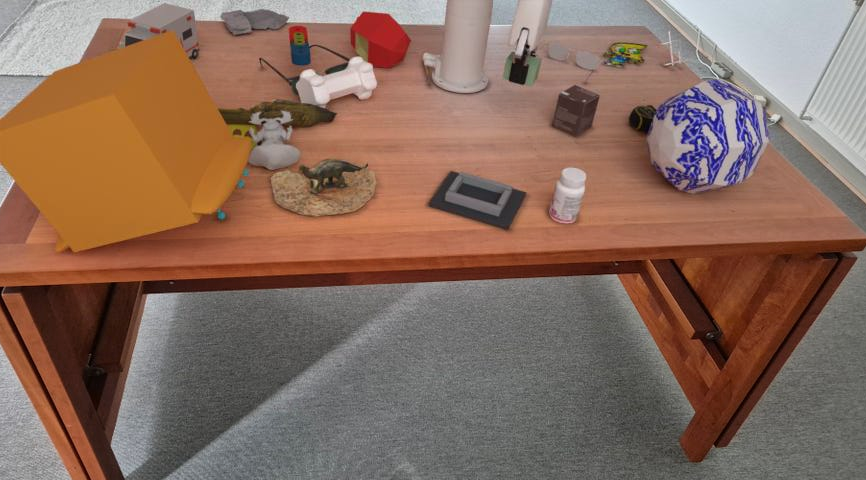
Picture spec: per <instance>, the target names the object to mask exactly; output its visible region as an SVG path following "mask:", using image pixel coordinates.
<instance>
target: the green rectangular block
mask: <svg viewBox="0 0 866 480" xmlns="http://www.w3.org/2000/svg"><path fill="white" fill-rule="evenodd" d="M514 53H515V51H511V52H510V53H509V54H508V56H507V57H506V59H505V63H504V68H503V73H502V80H506V81H509V75H510V70H511V65H512V61H513V58H514ZM525 57H526V55H525ZM542 61H543V59H542V58H540V57H532V56H530V58H529V62H528V65H529V69H528V73H527V78H526V82H525V84H524V85H526V86H529V87H533V86H534V84H535V83H536V81H537V79H538V78H539V74H540V69H541V64H542Z"/></svg>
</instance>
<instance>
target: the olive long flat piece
mask: <svg viewBox="0 0 866 480" xmlns="http://www.w3.org/2000/svg"><path fill="white" fill-rule="evenodd" d="M291 101H292V100H290V101H282V102H278V101H276V102H272V101H262V102H260V103H259V104H256V105H254V107H249V108H250V109H246V108H242V107H239V108H219V107H217V108H218V110H219V112H220V114H221V116H222V117H223V119H224V121H225V122H230V123H250V122H249V121H252V120H251V116H252V114H255V113H257V112H261V113H260V115H259V119H263V118H265V119H275V118H278V117H279V118H283V113H282V112H281V111H285V112H289V113H290V114H291V119H293V120H292V121H290V122H287V123H284V124H281V125H282V126H283V127H288V128H290V127H289V126H291V128H295V127H296V128H297V127H298V128H301V127H303V128H309V127H313V126H315V125H318V124H320V123H332V122H333V121H334V119H335V118H336V116H337V115H338V112H335V111H332V110H331V109H329V108H326V107H325V108H322V107H319V106H316V105H312V104H308V103H301V102H296V101H294V102H291ZM252 118H253V117H252ZM276 121H278V122H279V123H281V121H279V120H276ZM265 123H266V121H262V122H261V124H262V125H261V126H263V124H265ZM250 124H252V123H250Z"/></svg>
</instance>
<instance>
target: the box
mask: <svg viewBox="0 0 866 480" xmlns="http://www.w3.org/2000/svg"><path fill="white" fill-rule="evenodd" d="M600 97H601V95H600V94H599V93H595V92H593V91H591V90H588V89H586V88H584V87H582V86H579V85H577V84H573V85H572V86H570V87H569V88H567V89H565V90H563V91H561V92H560V93H559V94H558V97H557V100H556V101H557V102H556V106H555V110H554V114H553V119H552V124H551V126H552V127H554V128H556V129H558V130H560V131H563V132H565V133H567V134H570V135H572V136H574V137H578V136H580V135H581V134H583V133H585V132H586V131H587V130H589V129H591V128H592V126H593V122H594V118H595V115H596V111H597V107H598V104H599V100H600Z"/></svg>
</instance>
